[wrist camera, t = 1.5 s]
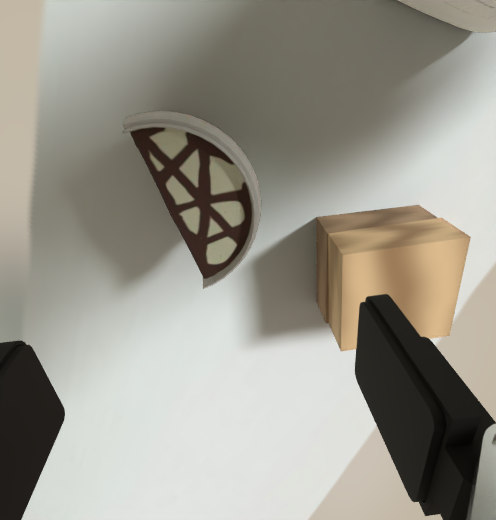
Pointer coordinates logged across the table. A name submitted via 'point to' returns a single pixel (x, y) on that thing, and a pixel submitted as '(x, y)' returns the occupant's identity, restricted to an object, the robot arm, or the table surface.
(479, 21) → the photo printer
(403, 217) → the tan cardboard flat block
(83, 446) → the table surface
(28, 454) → the robot arm
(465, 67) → the table surface
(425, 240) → the oak slab
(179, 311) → the table surface
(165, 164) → the food container
